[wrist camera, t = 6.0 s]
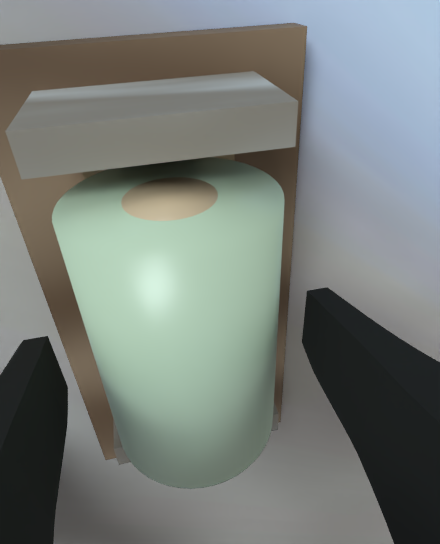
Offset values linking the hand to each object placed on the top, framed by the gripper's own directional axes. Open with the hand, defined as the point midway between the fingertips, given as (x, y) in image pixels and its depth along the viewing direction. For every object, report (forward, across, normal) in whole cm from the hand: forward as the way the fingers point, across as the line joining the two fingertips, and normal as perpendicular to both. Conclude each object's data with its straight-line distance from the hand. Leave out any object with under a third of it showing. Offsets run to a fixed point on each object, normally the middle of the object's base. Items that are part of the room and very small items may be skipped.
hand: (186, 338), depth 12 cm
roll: (+3, 0, 0) cm, 3 cm away
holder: (+5, 0, +2) cm, 5 cm away
